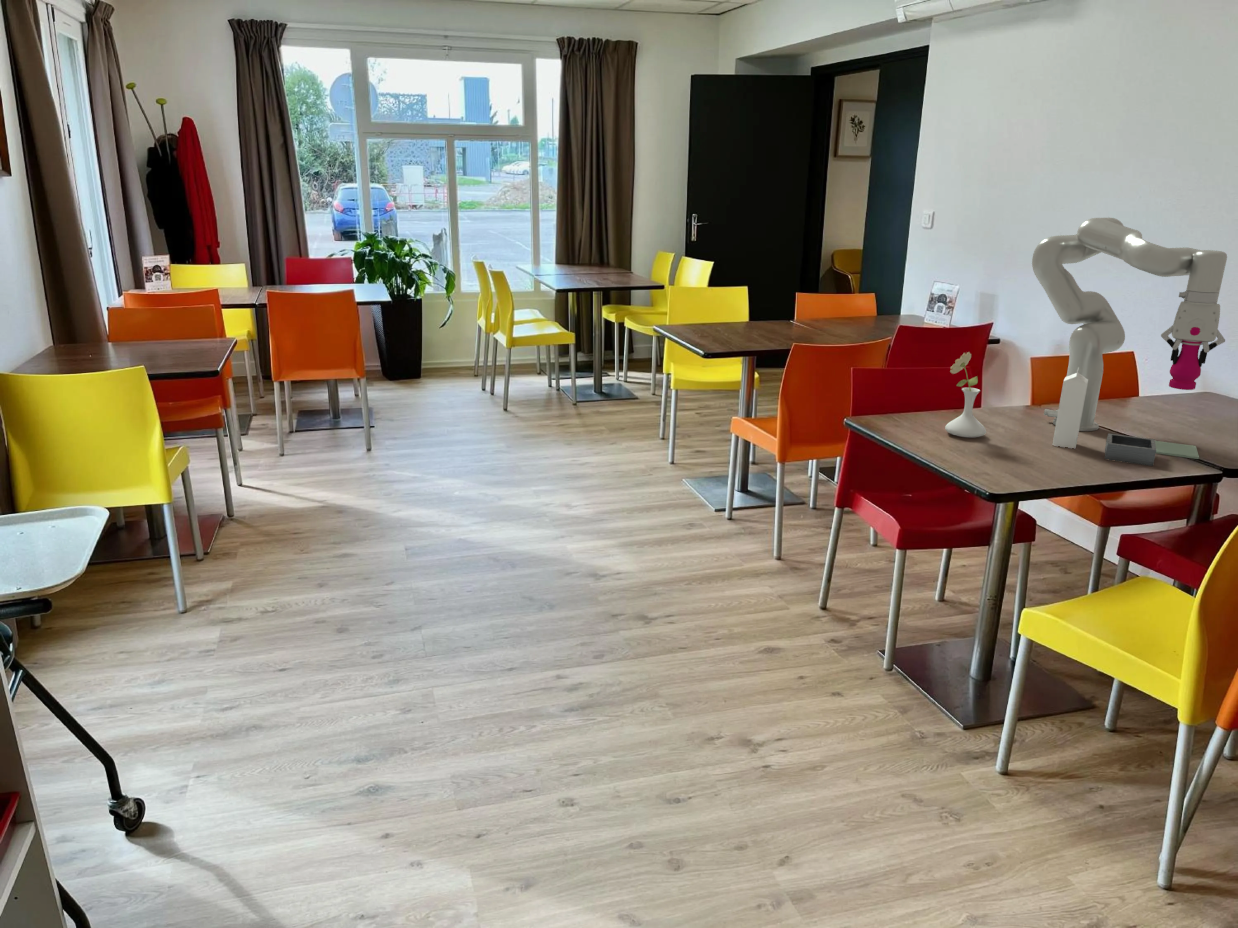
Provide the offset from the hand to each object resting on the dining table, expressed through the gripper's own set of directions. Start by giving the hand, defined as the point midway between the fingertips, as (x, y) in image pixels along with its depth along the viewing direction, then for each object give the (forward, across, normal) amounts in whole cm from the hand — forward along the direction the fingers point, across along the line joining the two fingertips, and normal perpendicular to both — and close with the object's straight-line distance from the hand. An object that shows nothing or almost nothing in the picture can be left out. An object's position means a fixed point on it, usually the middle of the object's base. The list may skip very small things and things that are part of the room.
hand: (1186, 364), depth 242 cm
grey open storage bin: (+25, -10, -14) cm, 30 cm away
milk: (+25, -26, -10) cm, 37 cm away
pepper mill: (+7, 0, 0) cm, 7 cm away
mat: (+25, 0, 0) cm, 25 cm away
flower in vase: (+25, -53, -15) cm, 60 cm away
